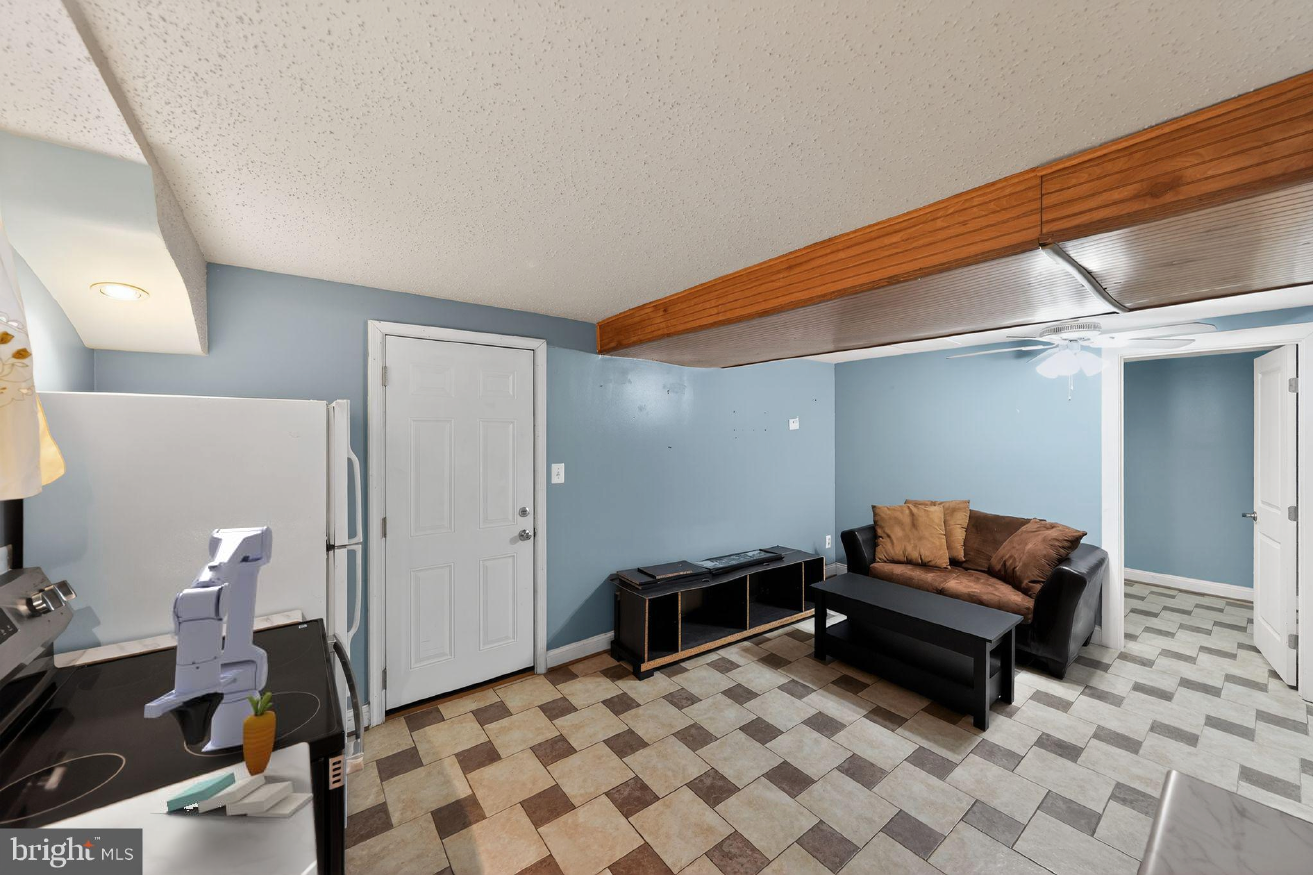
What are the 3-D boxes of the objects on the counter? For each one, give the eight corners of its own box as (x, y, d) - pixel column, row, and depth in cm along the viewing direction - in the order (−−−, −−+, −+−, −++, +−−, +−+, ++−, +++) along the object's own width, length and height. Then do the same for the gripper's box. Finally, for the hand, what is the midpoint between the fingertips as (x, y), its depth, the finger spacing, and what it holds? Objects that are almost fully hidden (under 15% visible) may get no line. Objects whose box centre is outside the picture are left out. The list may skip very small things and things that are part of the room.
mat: (150, 815, 80) (150, 812, 80) (188, 792, 86) (188, 790, 86) (242, 819, 78) (242, 817, 78) (275, 796, 84) (275, 793, 84)
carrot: (233, 784, 88) (237, 696, 90) (266, 769, 93) (269, 685, 94) (247, 791, 86) (251, 700, 87) (280, 776, 90) (283, 690, 92)
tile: (166, 801, 81) (204, 789, 80) (198, 783, 85) (233, 771, 85) (168, 811, 80) (205, 800, 80) (199, 792, 85) (235, 781, 85)
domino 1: (197, 802, 80) (234, 790, 79) (227, 784, 85) (263, 772, 84) (199, 813, 80) (237, 801, 79) (229, 793, 85) (265, 782, 84)
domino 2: (225, 804, 79) (263, 800, 78) (256, 785, 84) (291, 781, 83) (226, 815, 79) (264, 811, 78) (257, 795, 84) (292, 791, 83)
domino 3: (247, 811, 79) (287, 813, 78) (274, 792, 84) (312, 793, 83) (246, 822, 79) (287, 824, 78) (274, 802, 84) (312, 803, 83)
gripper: (174, 676, 77) (169, 768, 76) (258, 645, 92) (255, 722, 90) (134, 675, 78) (128, 766, 77) (224, 645, 92) (220, 721, 91)
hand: (194, 742), depth 84 cm, fingers closed
